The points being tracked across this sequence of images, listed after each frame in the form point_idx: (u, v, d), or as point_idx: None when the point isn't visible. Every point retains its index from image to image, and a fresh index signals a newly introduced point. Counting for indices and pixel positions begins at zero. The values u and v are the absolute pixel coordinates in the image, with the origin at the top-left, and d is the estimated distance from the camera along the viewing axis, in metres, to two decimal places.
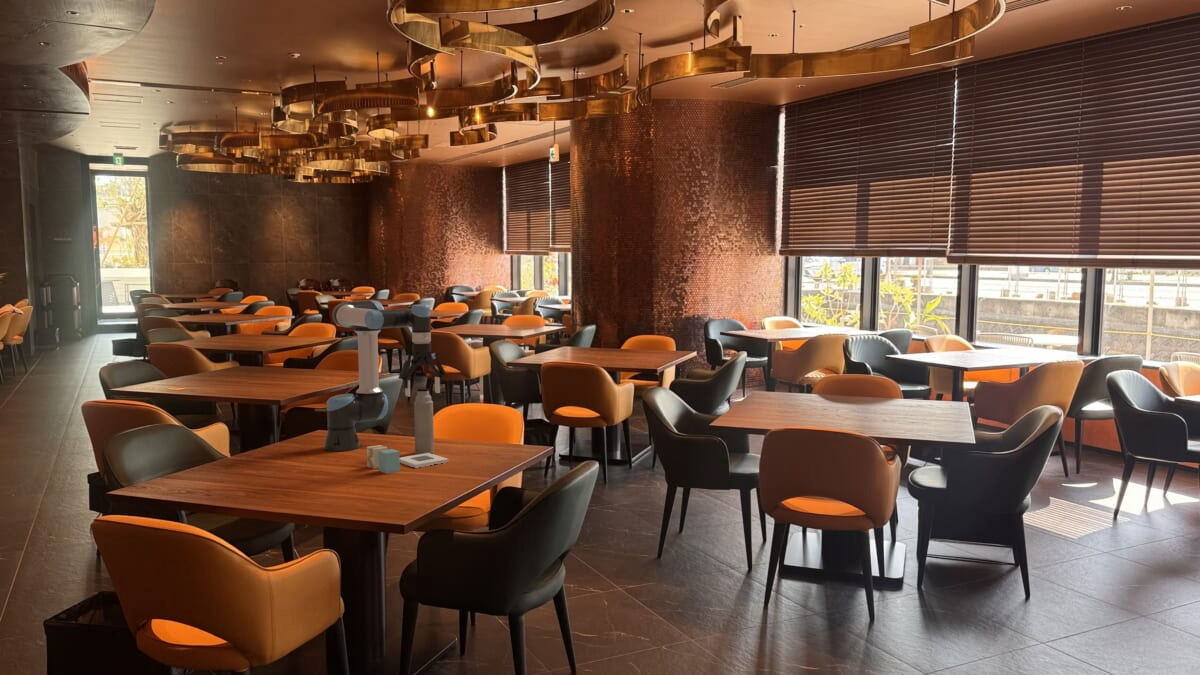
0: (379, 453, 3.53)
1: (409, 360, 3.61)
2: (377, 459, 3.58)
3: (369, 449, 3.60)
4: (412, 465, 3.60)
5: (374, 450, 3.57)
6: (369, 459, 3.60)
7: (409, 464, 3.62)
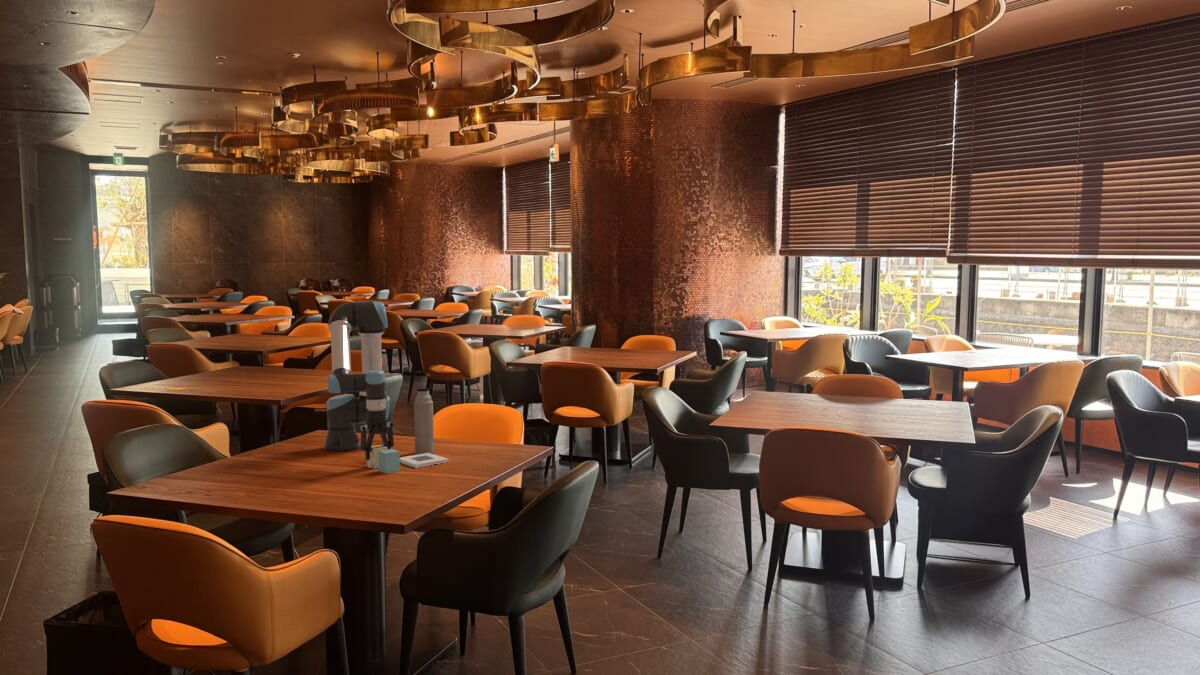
0: (379, 453, 3.53)
1: (364, 431, 3.56)
2: (377, 459, 3.58)
3: None
4: (412, 465, 3.60)
5: (374, 450, 3.57)
6: None
7: (409, 464, 3.62)
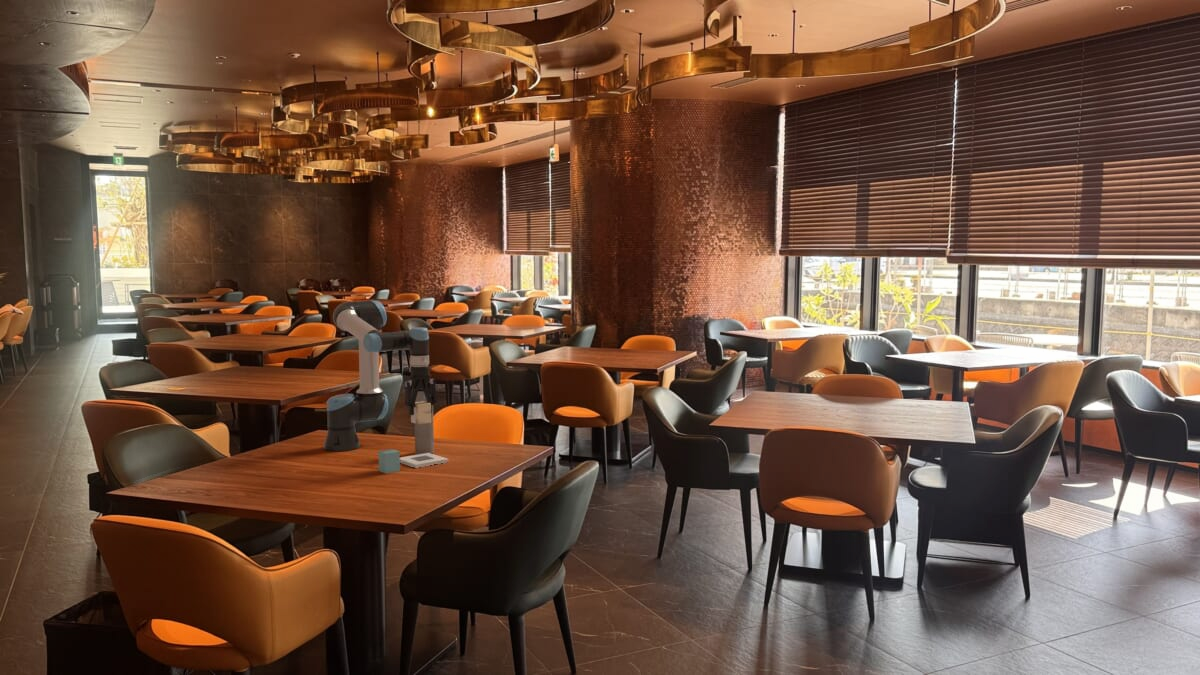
0: (379, 453, 3.53)
1: (409, 386, 3.62)
2: (421, 414, 3.64)
3: None
4: (412, 465, 3.60)
5: (418, 405, 3.63)
6: None
7: (409, 464, 3.62)
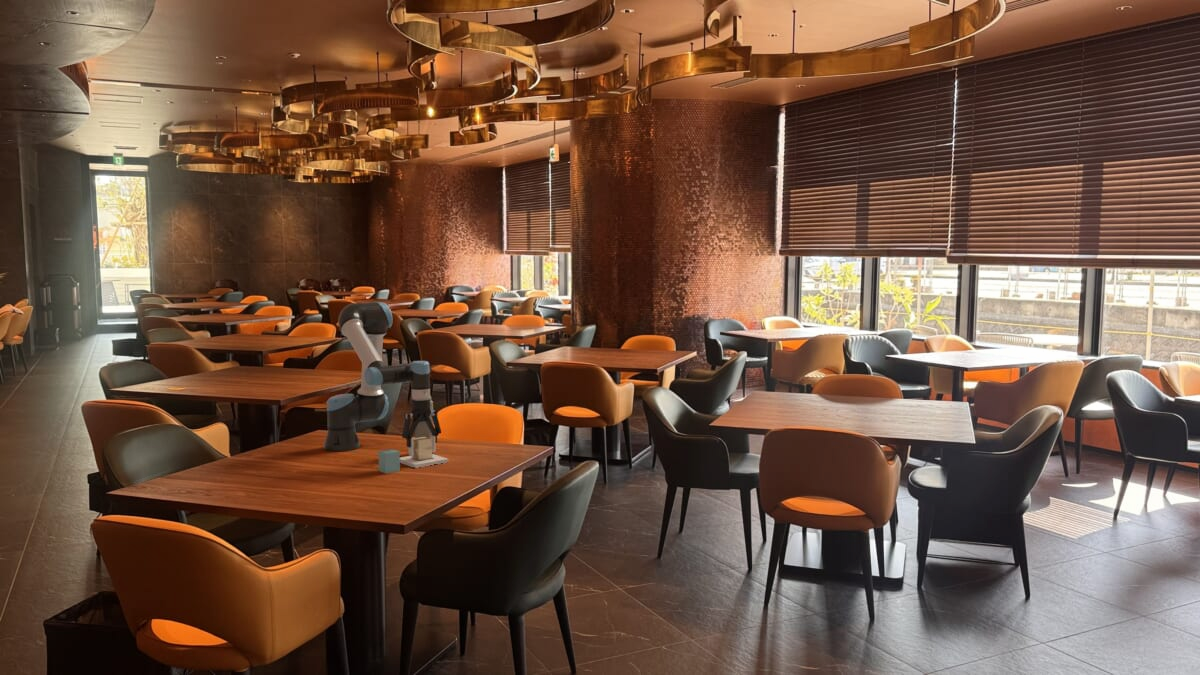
0: (379, 453, 3.53)
1: (409, 419, 3.63)
2: (422, 450, 3.66)
3: (414, 441, 3.67)
4: (412, 465, 3.60)
5: (419, 441, 3.65)
6: (414, 450, 3.68)
7: (409, 464, 3.62)
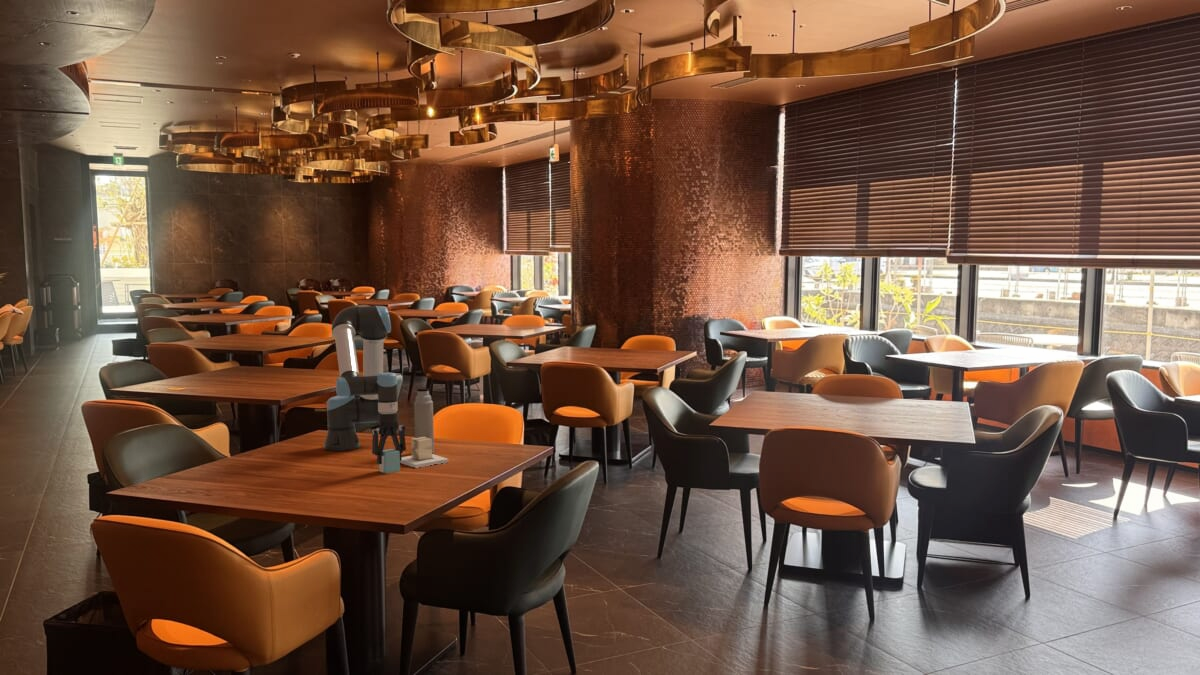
0: None
1: (376, 434, 3.48)
2: (422, 450, 3.66)
3: (414, 441, 3.67)
4: (412, 465, 3.60)
5: (419, 441, 3.65)
6: (414, 450, 3.68)
7: (409, 464, 3.62)
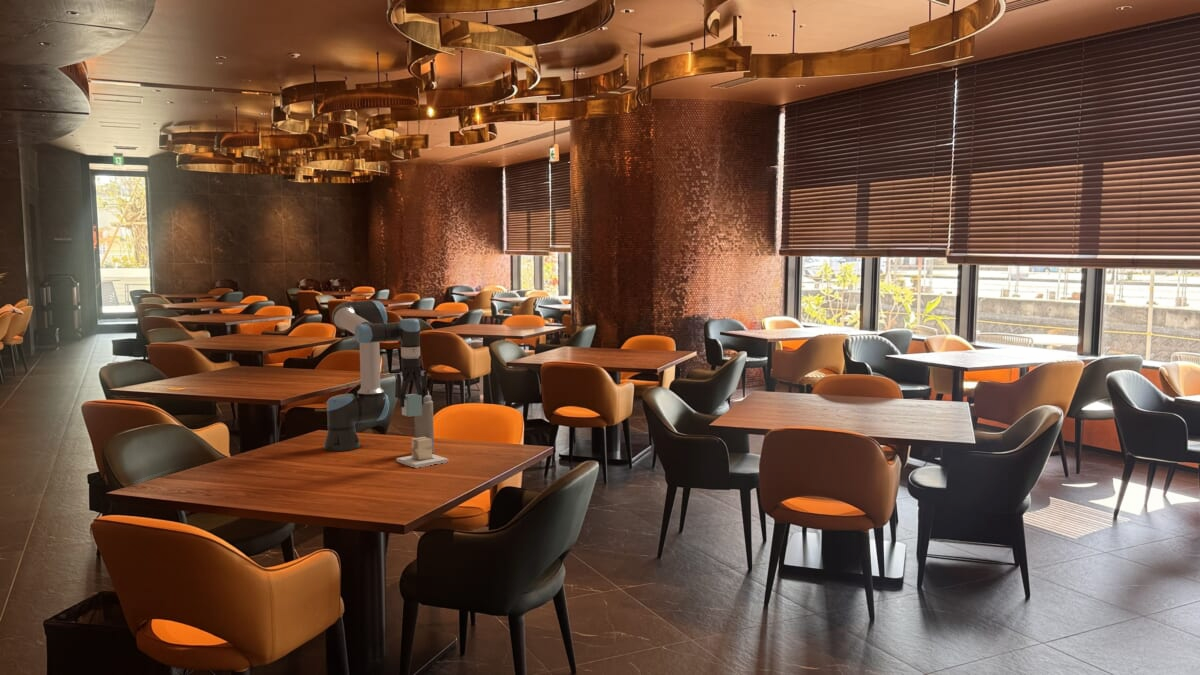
0: None
1: (399, 378, 3.57)
2: (422, 450, 3.66)
3: (414, 441, 3.67)
4: (412, 465, 3.60)
5: (419, 441, 3.65)
6: (414, 450, 3.68)
7: (409, 464, 3.62)
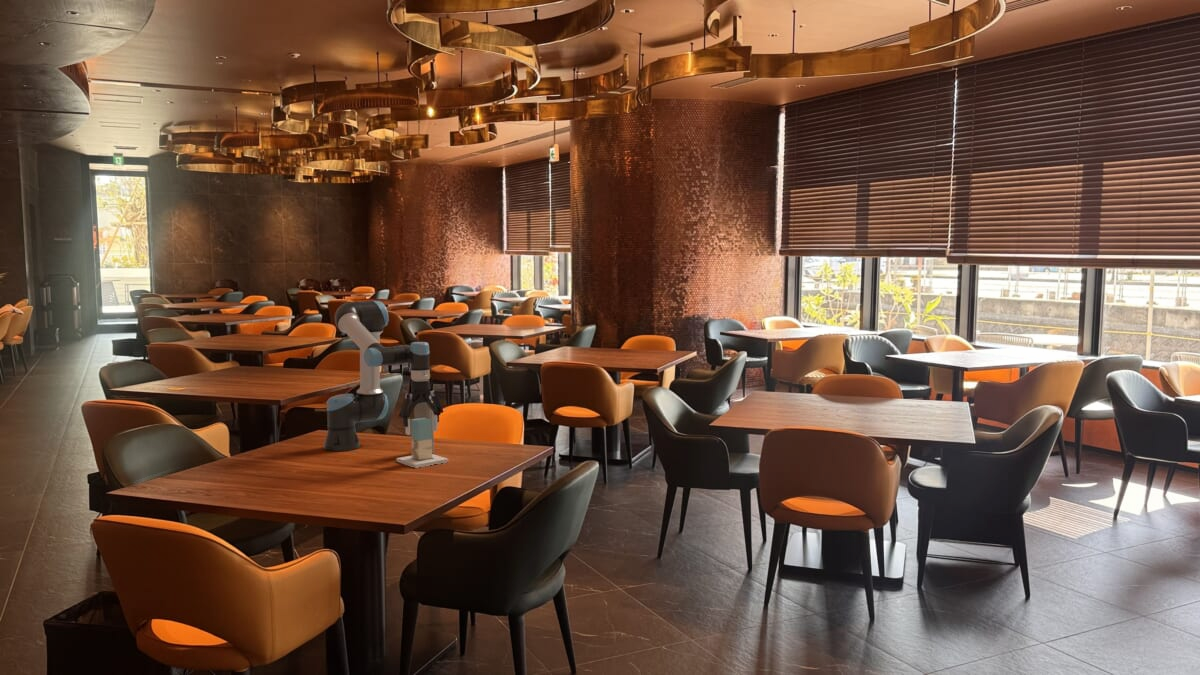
0: (411, 421, 3.68)
1: (408, 398, 3.62)
2: (422, 450, 3.66)
3: (414, 441, 3.67)
4: (412, 465, 3.60)
5: (419, 441, 3.65)
6: (414, 450, 3.68)
7: (409, 464, 3.62)
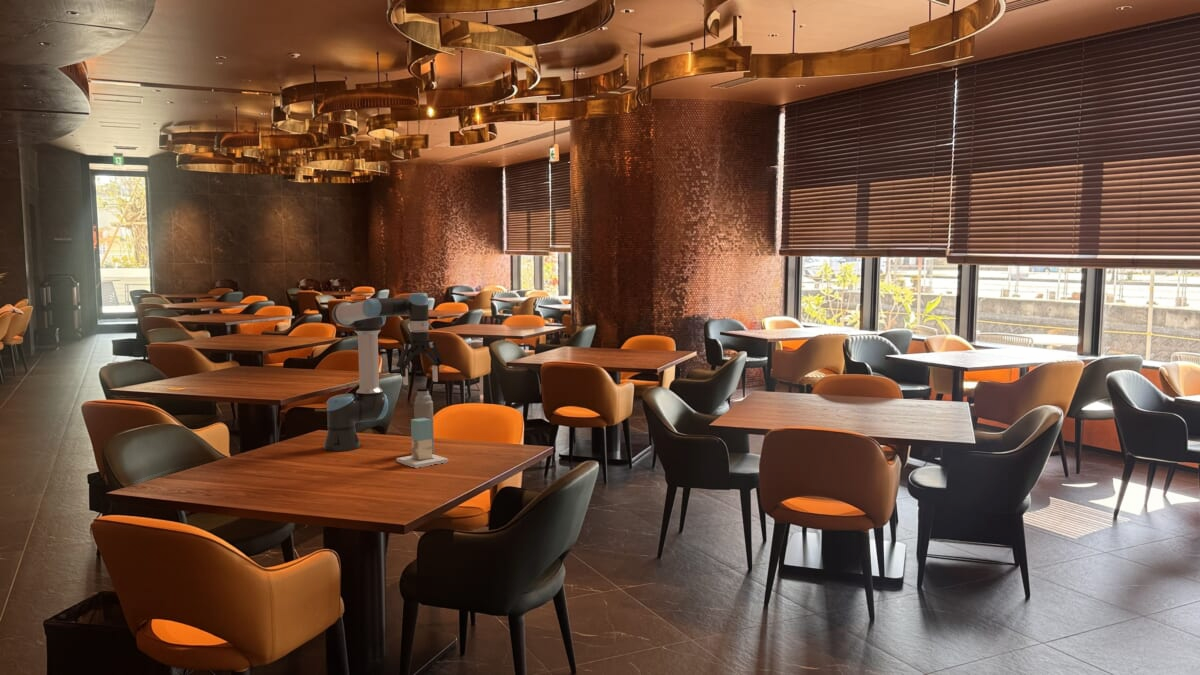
0: (411, 421, 3.68)
1: (407, 348, 3.60)
2: (422, 450, 3.66)
3: (414, 441, 3.67)
4: (412, 465, 3.60)
5: (419, 441, 3.65)
6: (414, 450, 3.68)
7: (409, 464, 3.62)
